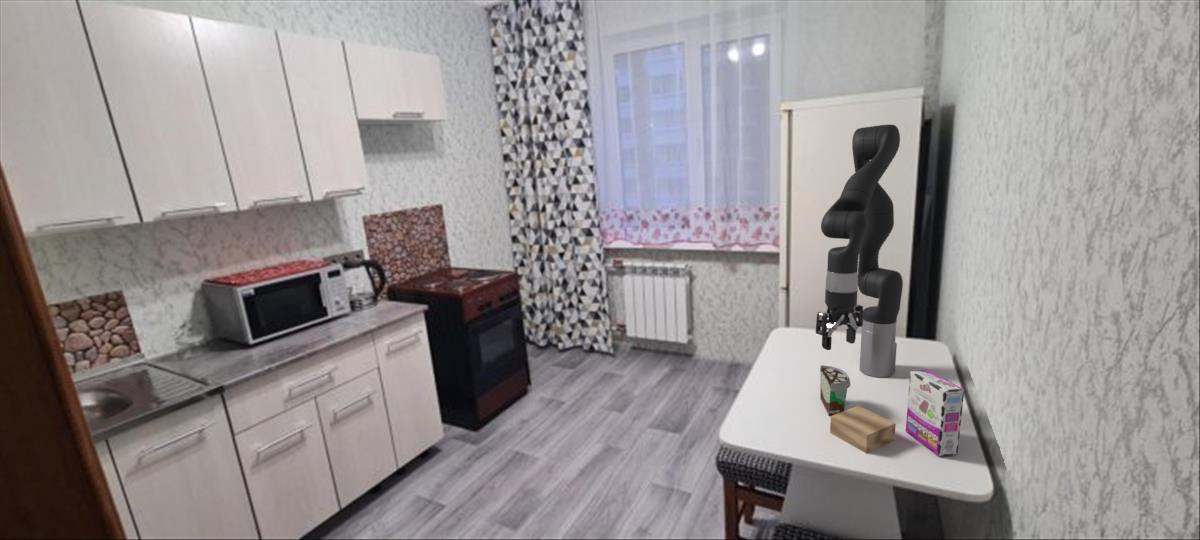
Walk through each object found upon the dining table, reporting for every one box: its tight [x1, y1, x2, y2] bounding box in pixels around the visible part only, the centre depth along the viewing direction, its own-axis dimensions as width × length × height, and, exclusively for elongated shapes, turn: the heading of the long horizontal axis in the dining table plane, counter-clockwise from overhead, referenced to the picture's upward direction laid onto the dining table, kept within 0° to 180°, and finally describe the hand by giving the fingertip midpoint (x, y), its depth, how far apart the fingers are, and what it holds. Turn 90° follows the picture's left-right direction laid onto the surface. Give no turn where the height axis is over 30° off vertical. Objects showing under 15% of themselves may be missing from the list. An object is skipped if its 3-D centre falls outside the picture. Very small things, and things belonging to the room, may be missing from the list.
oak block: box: [829, 405, 897, 454], centre depth 120 cm, size 10×10×5 cm
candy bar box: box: [905, 369, 965, 458], centre depth 114 cm, size 11×5×16 cm, turn 5°
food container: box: [819, 365, 851, 417], centre depth 133 cm, size 12×6×10 cm, turn 168°
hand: (838, 345), depth 130 cm, fingers open, 8 cm apart
